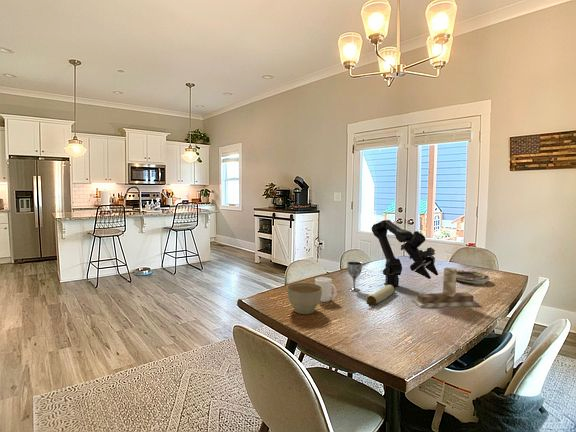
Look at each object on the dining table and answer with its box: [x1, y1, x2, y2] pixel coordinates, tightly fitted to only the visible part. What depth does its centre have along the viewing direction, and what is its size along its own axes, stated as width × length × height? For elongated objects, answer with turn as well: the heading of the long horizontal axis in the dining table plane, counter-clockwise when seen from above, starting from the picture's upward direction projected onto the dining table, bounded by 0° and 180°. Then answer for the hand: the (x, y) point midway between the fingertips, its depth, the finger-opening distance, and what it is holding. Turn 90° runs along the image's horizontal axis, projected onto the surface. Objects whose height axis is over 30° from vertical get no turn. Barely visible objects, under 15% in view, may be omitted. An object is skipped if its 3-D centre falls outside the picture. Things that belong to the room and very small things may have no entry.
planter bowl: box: [286, 282, 322, 315], centre depth 155 cm, size 16×16×11 cm
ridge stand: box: [410, 292, 481, 308], centre depth 165 cm, size 30×9×4 cm, turn 96°
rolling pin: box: [366, 284, 396, 307], centre depth 171 cm, size 32×6×5 cm, turn 141°
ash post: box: [442, 266, 458, 297], centre depth 164 cm, size 4×4×13 cm
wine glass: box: [346, 261, 363, 293], centre depth 185 cm, size 8×8×15 cm
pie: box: [456, 269, 490, 286], centre depth 204 cm, size 28×27×5 cm
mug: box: [314, 276, 338, 303], centre depth 169 cm, size 12×8×10 cm
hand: (434, 276), depth 170 cm, fingers open, 9 cm apart
